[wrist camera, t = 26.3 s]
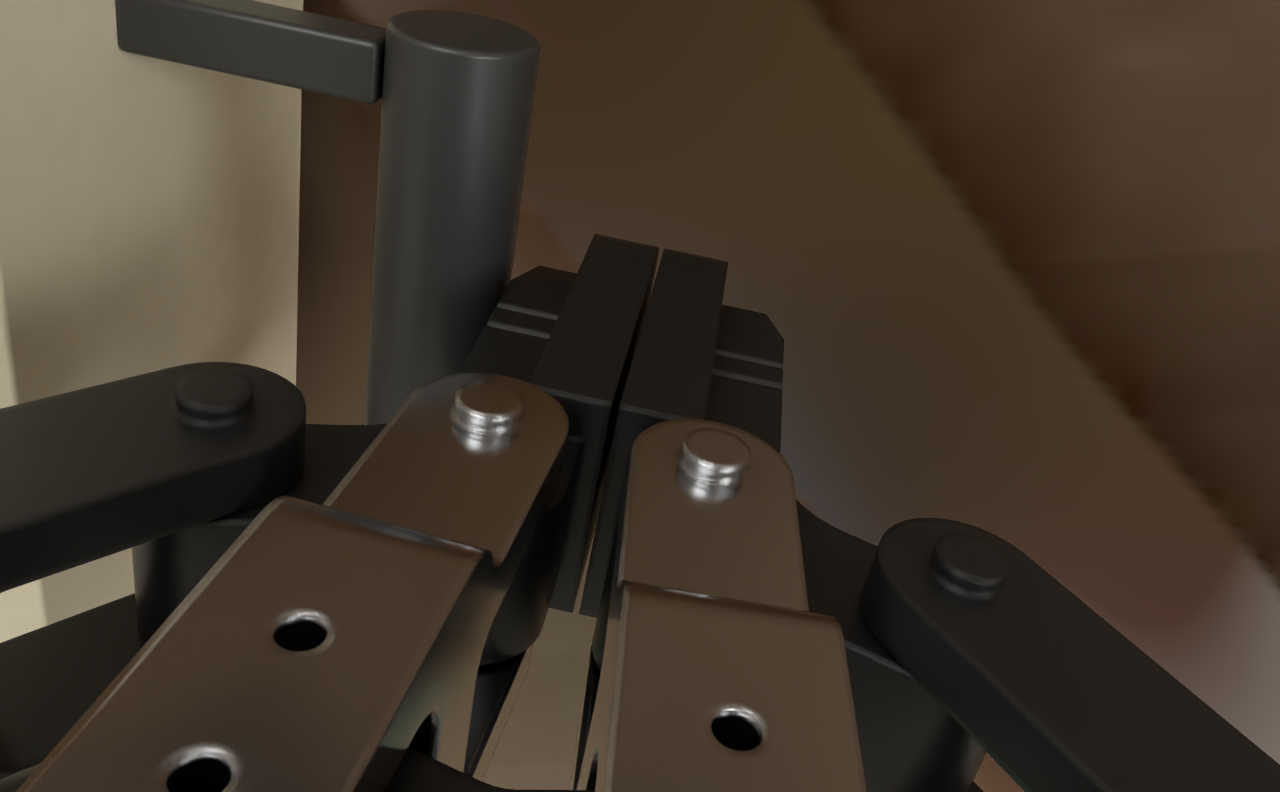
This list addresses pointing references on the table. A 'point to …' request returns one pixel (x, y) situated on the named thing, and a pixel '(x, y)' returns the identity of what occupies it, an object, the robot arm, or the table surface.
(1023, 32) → the table surface
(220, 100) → the drawer
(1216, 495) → the table surface
